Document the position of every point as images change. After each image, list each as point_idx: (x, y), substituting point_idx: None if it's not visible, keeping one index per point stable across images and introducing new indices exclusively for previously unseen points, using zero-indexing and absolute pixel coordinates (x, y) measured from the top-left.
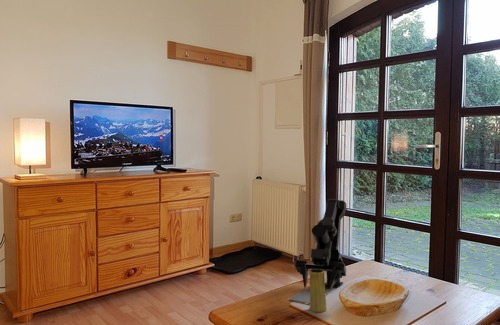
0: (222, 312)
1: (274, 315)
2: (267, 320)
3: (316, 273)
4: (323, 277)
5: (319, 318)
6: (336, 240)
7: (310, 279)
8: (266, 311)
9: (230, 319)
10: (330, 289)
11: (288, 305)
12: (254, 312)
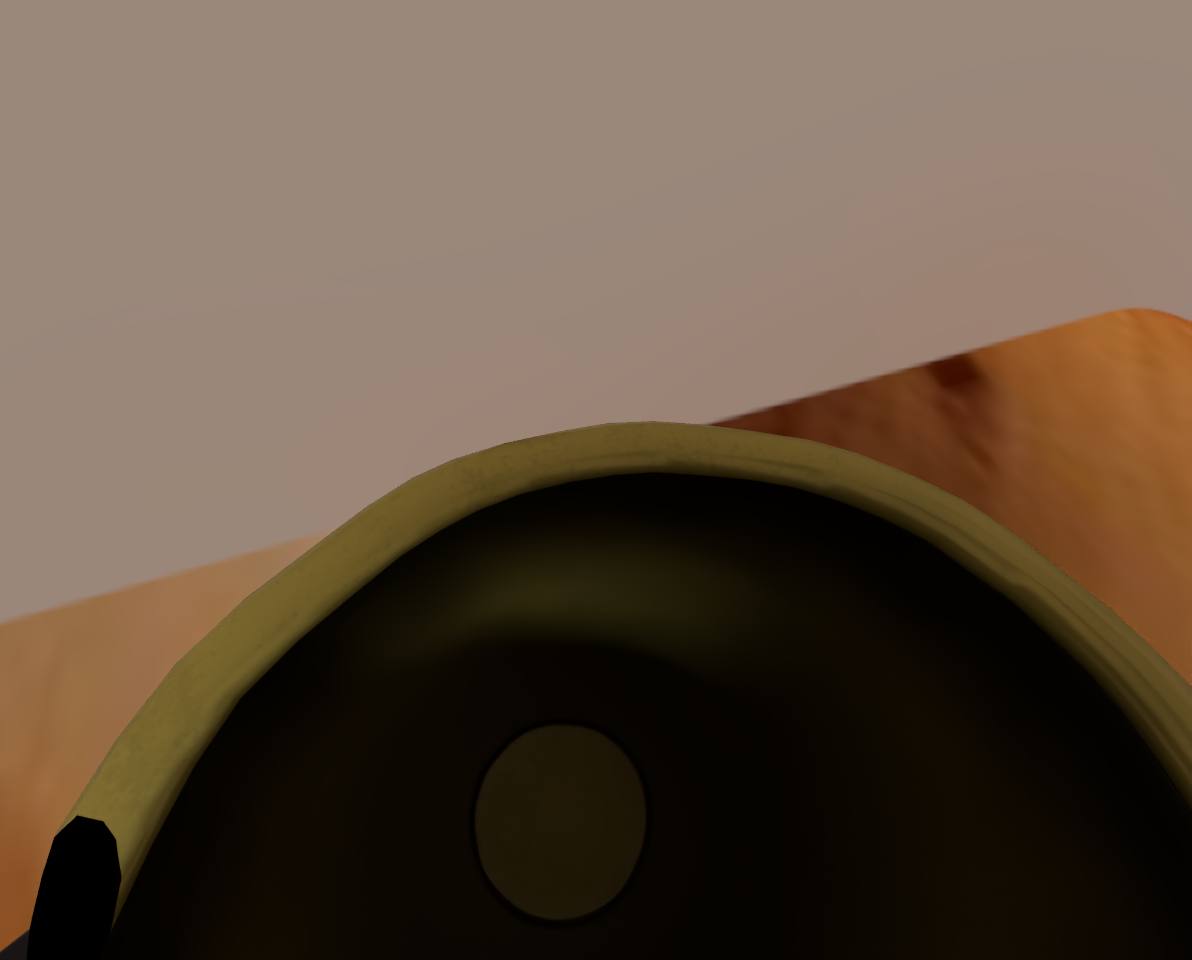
0: None
1: (915, 472)
2: (898, 370)
3: (590, 440)
4: (283, 875)
5: None
6: None
7: (838, 711)
8: (1041, 534)
9: (1129, 322)
10: None
11: None
12: (1106, 480)
